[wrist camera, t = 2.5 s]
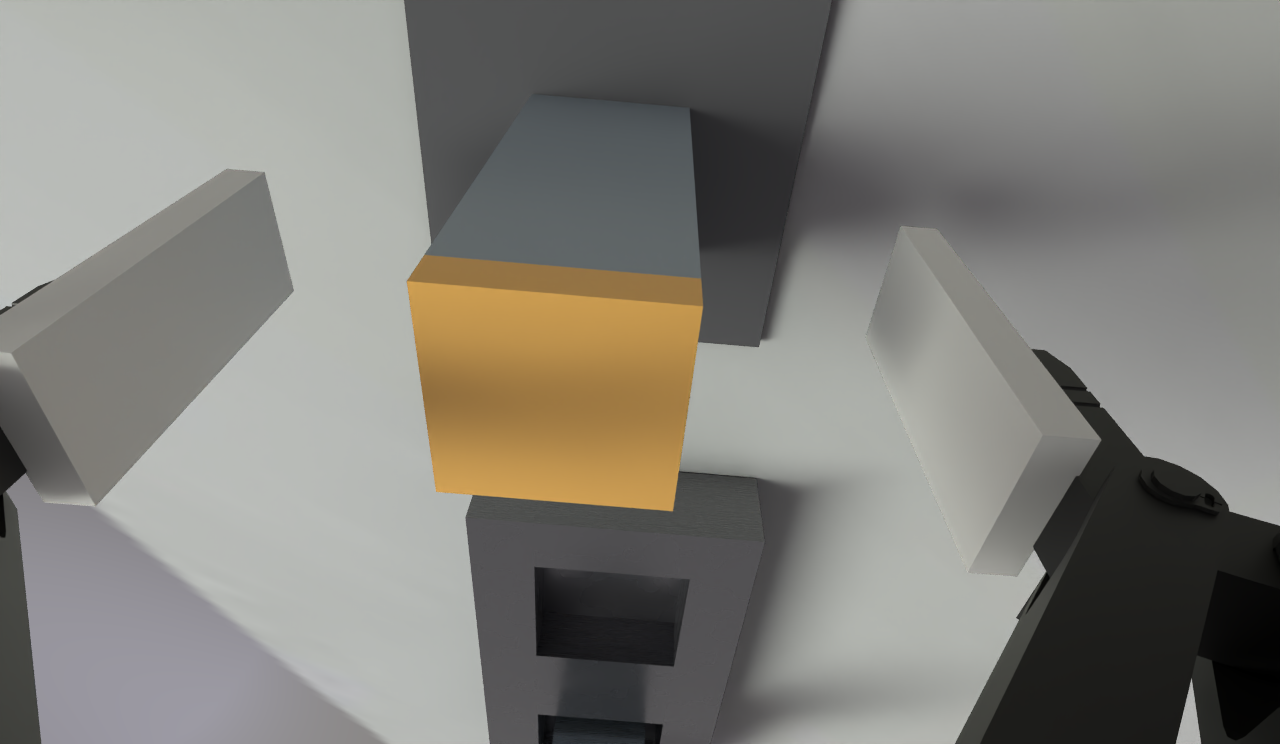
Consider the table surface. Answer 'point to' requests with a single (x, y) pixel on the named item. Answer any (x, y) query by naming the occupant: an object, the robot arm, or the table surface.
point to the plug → (565, 310)
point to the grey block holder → (612, 612)
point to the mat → (636, 73)
